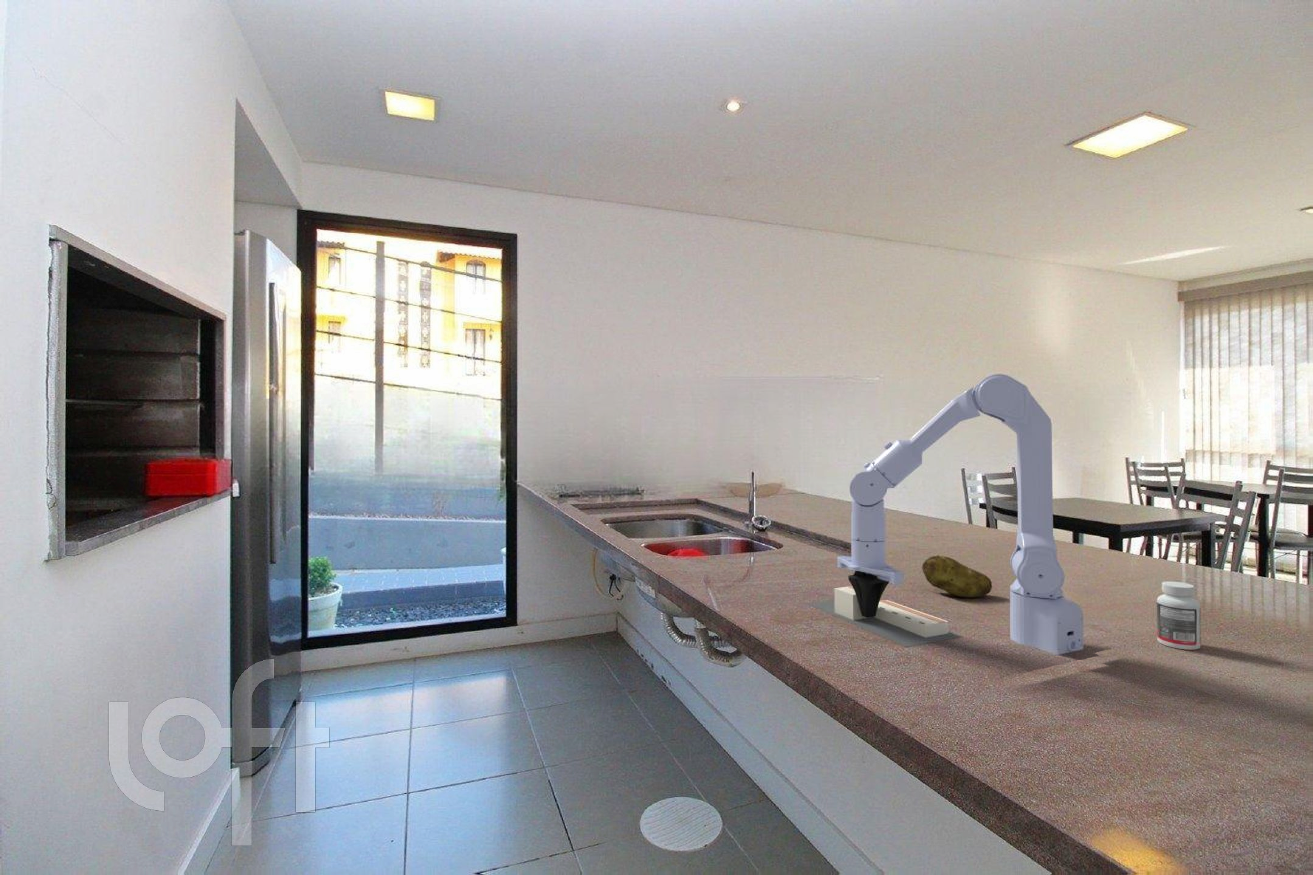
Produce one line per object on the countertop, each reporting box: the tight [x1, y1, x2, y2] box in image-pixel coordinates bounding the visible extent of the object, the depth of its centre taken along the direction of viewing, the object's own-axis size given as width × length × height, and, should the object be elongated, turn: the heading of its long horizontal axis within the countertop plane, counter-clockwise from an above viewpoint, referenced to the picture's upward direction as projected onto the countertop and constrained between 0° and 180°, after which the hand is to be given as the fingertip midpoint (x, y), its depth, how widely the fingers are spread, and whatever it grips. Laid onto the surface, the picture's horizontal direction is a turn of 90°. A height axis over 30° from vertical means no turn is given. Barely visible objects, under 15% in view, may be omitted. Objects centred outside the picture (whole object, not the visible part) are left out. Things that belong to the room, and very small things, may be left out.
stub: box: [833, 585, 869, 620], centre depth 111 cm, size 5×4×5 cm
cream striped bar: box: [875, 599, 949, 638], centre depth 106 cm, size 14×5×2 cm, turn 22°
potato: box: [921, 555, 993, 598], centre depth 129 cm, size 8×13×8 cm, turn 54°
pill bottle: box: [1156, 580, 1202, 651], centre depth 98 cm, size 5×5×10 cm
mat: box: [805, 599, 964, 648], centre depth 109 cm, size 26×12×1 cm, turn 22°
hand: (868, 616), depth 108 cm, fingers closed
